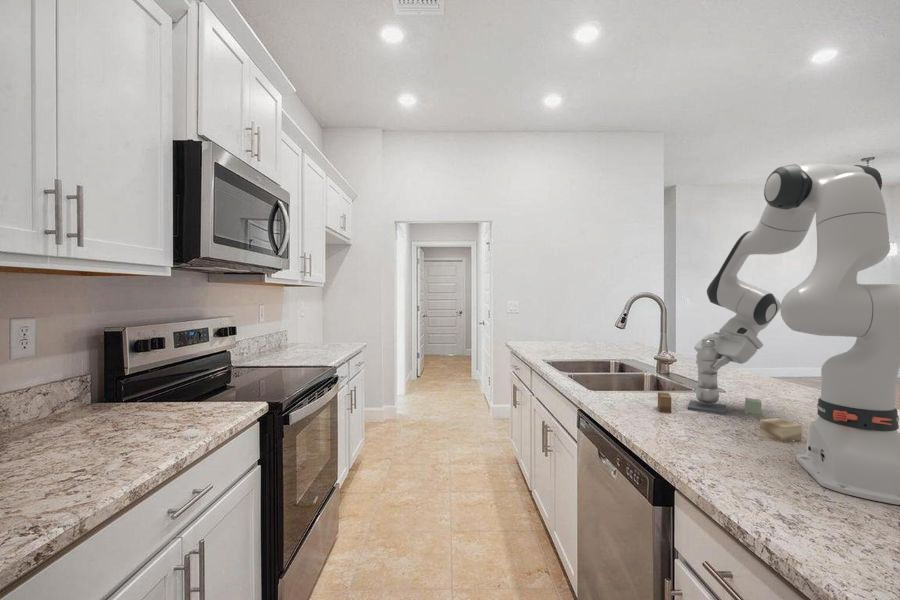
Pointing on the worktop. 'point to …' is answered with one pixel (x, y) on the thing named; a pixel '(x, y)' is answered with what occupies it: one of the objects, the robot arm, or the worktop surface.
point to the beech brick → (780, 429)
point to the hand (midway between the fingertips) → (706, 366)
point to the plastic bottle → (707, 373)
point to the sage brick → (753, 406)
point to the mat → (707, 407)
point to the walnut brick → (664, 402)
